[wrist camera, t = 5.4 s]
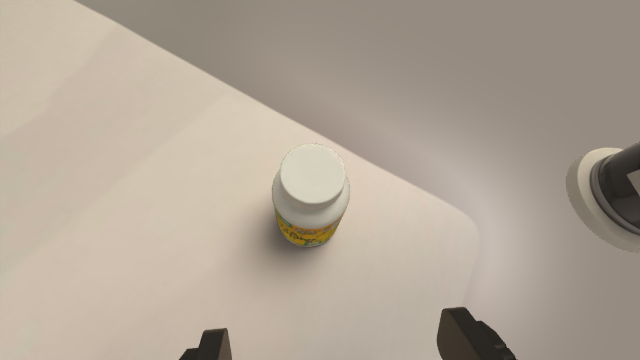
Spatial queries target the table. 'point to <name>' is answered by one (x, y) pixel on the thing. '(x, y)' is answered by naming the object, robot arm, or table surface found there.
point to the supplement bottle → (310, 194)
